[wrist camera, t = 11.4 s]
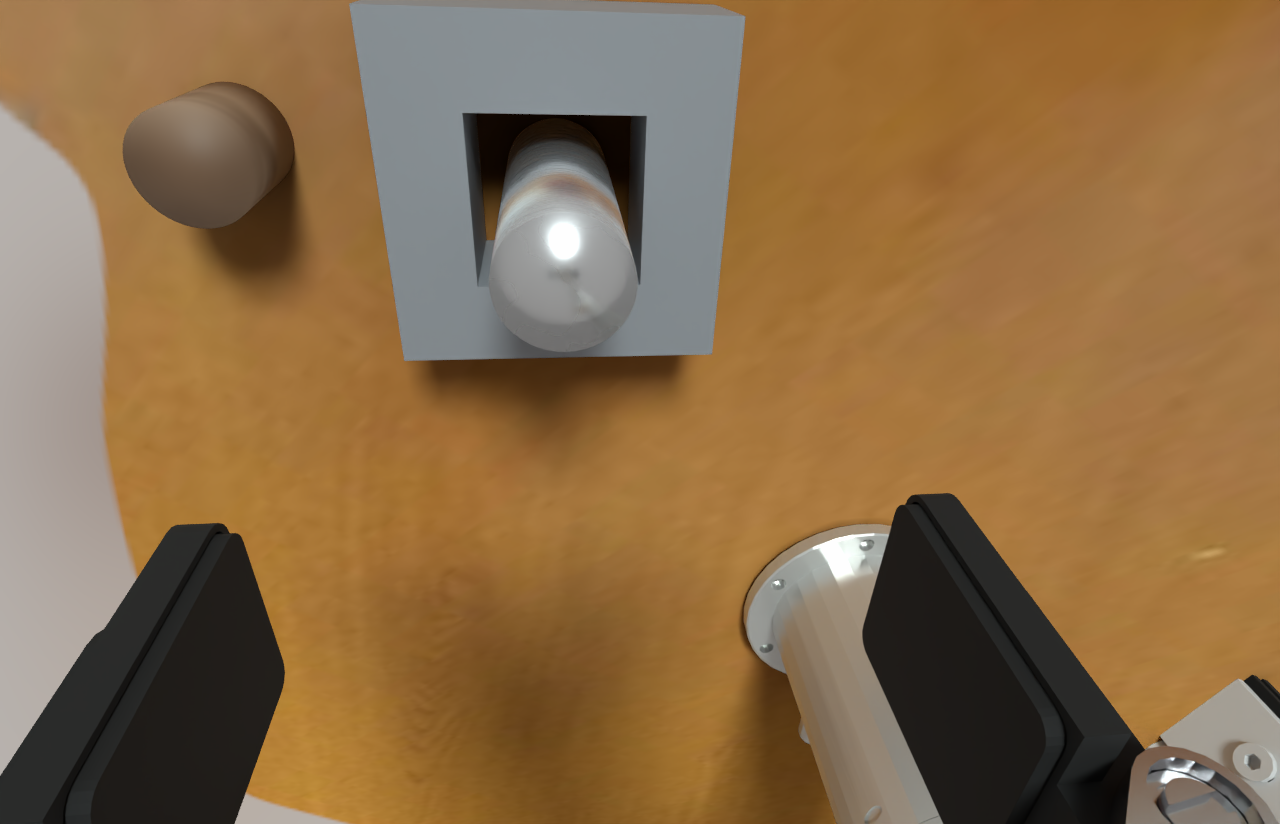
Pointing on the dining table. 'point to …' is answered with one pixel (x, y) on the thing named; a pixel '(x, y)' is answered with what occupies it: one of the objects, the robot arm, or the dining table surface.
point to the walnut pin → (208, 154)
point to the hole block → (548, 84)
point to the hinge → (1237, 735)
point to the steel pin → (560, 242)
